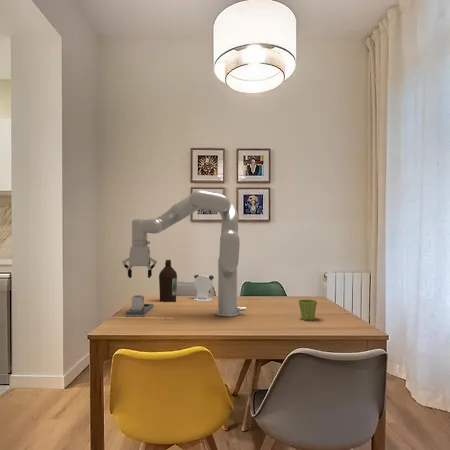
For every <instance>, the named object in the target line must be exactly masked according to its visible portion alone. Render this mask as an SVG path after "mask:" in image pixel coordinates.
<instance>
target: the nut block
mask: <svg viewBox="0 0 450 450" xmlns="http://www.w3.org/2000/svg"><path fill="white" fill-rule="evenodd" d="M144 304H145V296H144V295H139V294H138V295H133V296H132V297H131V308H132V311H143V310H144Z"/></svg>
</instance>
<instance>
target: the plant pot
mask: <svg viewBox="0 0 450 450" xmlns="http://www.w3.org/2000/svg"><path fill="white" fill-rule="evenodd" d="M297 302H298V305H299V311H300V316H301V320H303V321H306V320H307V321H314V320H315V317H316V309H317V305H318V302H319V301H318V300H316V299H298V300H297Z"/></svg>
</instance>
